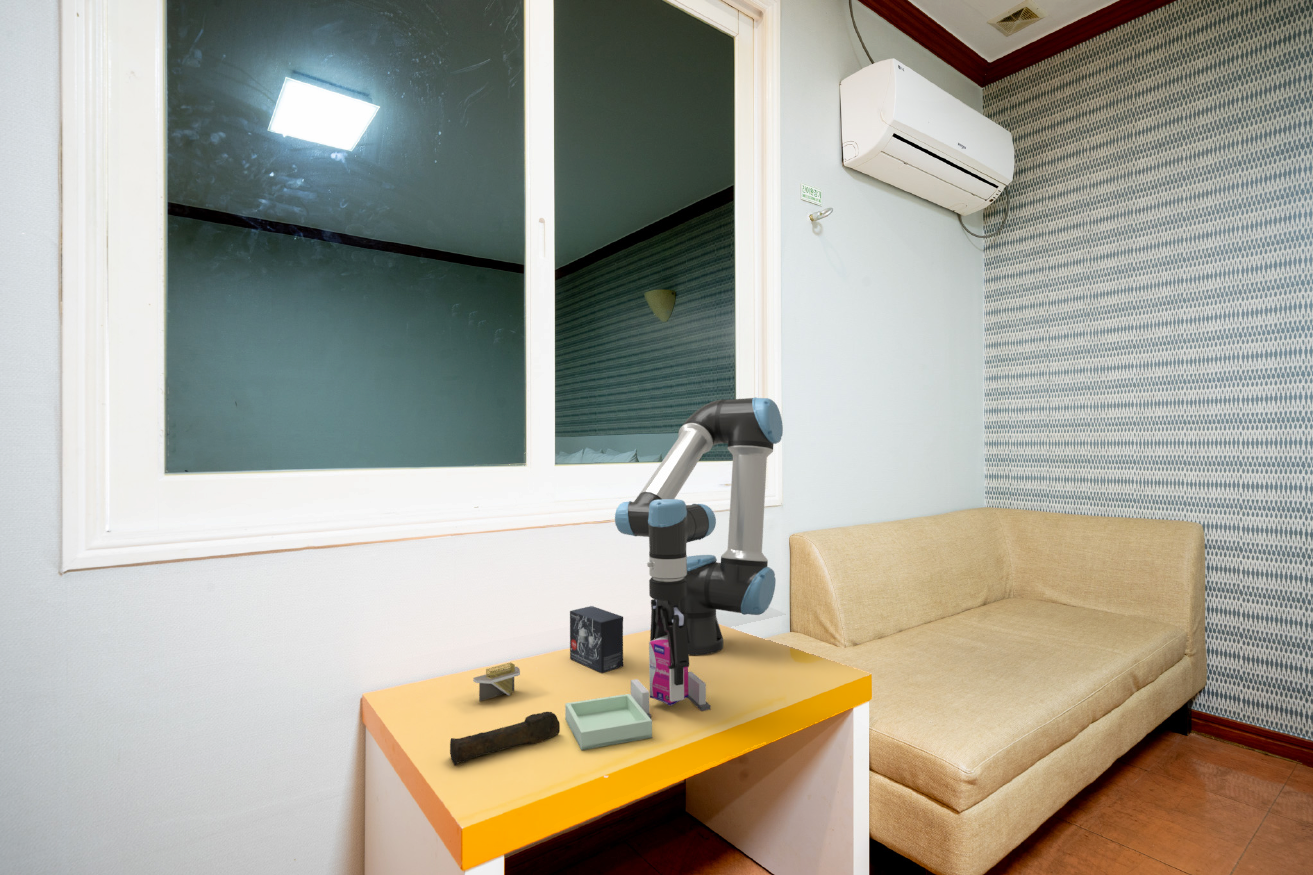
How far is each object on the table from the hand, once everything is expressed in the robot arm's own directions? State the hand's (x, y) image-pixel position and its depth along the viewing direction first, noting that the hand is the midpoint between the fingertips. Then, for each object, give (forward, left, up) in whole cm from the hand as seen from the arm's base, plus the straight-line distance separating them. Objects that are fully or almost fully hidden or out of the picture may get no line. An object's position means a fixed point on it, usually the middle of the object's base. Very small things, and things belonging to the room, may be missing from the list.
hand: (669, 691), depth 122 cm
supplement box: (0, 0, -1) cm, 1 cm away
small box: (+7, -29, -3) cm, 30 cm away
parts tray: (+14, +5, -3) cm, 15 cm away
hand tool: (+32, +6, -3) cm, 33 cm away
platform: (+31, -16, -3) cm, 35 cm away
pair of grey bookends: (0, 0, -3) cm, 3 cm away
